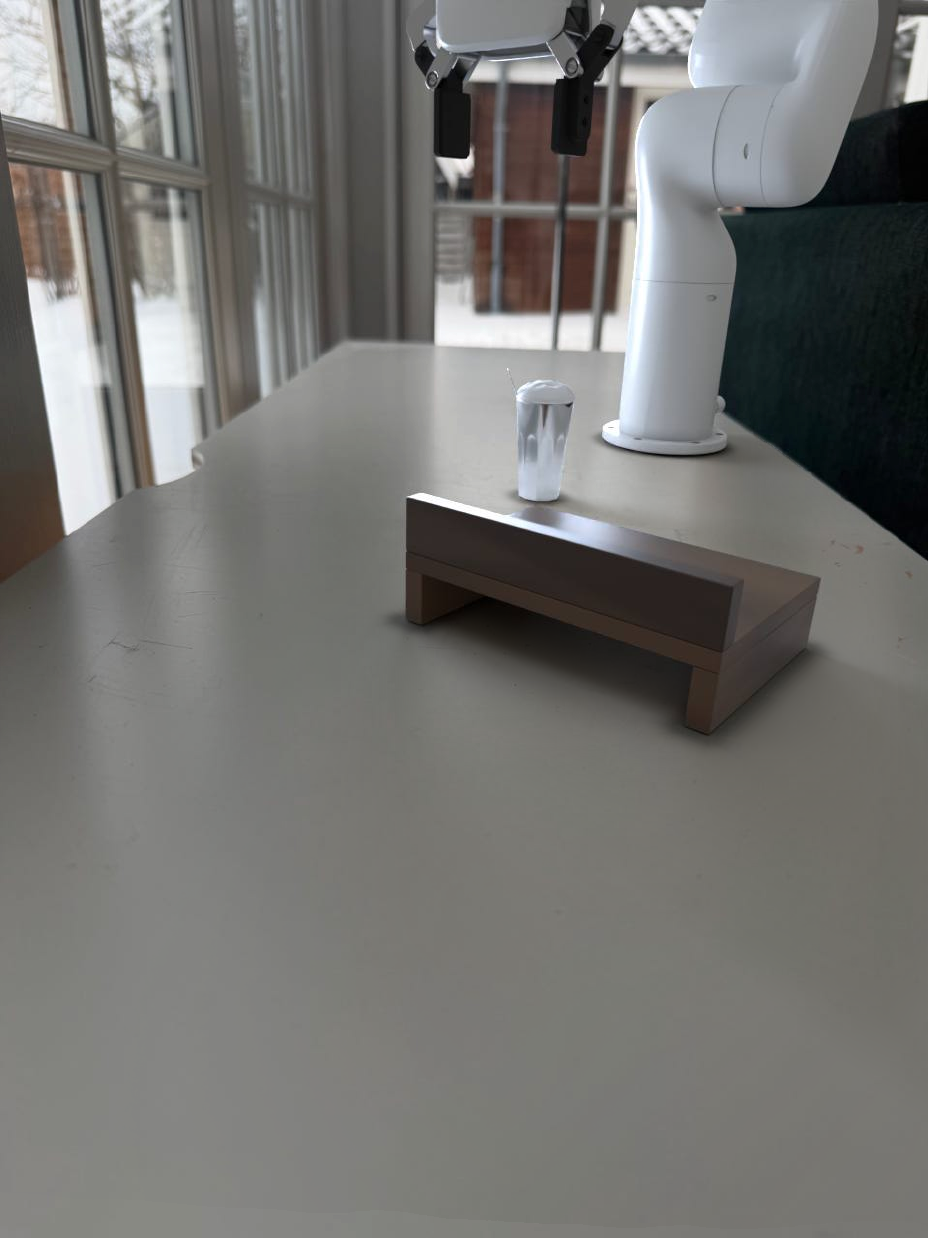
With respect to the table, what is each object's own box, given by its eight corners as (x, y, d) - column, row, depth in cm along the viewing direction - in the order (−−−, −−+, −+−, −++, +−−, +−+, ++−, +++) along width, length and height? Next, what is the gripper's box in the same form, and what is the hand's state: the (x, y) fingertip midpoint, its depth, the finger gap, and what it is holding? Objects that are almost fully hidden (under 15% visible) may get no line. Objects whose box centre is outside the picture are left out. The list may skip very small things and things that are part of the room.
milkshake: (497, 488, 73) (503, 364, 69) (561, 488, 74) (570, 365, 70) (504, 504, 69) (511, 373, 65) (571, 504, 70) (582, 374, 66)
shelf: (531, 564, 57) (538, 457, 54) (806, 647, 47) (833, 521, 44) (404, 619, 49) (405, 496, 46) (708, 735, 38) (733, 586, 36)
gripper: (685, -189, 49) (651, 157, 56) (449, -127, 59) (445, 161, 66) (616, -240, 44) (587, 150, 51) (369, -162, 54) (374, 155, 61)
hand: (507, 156), depth 59 cm, fingers open, 9 cm apart
